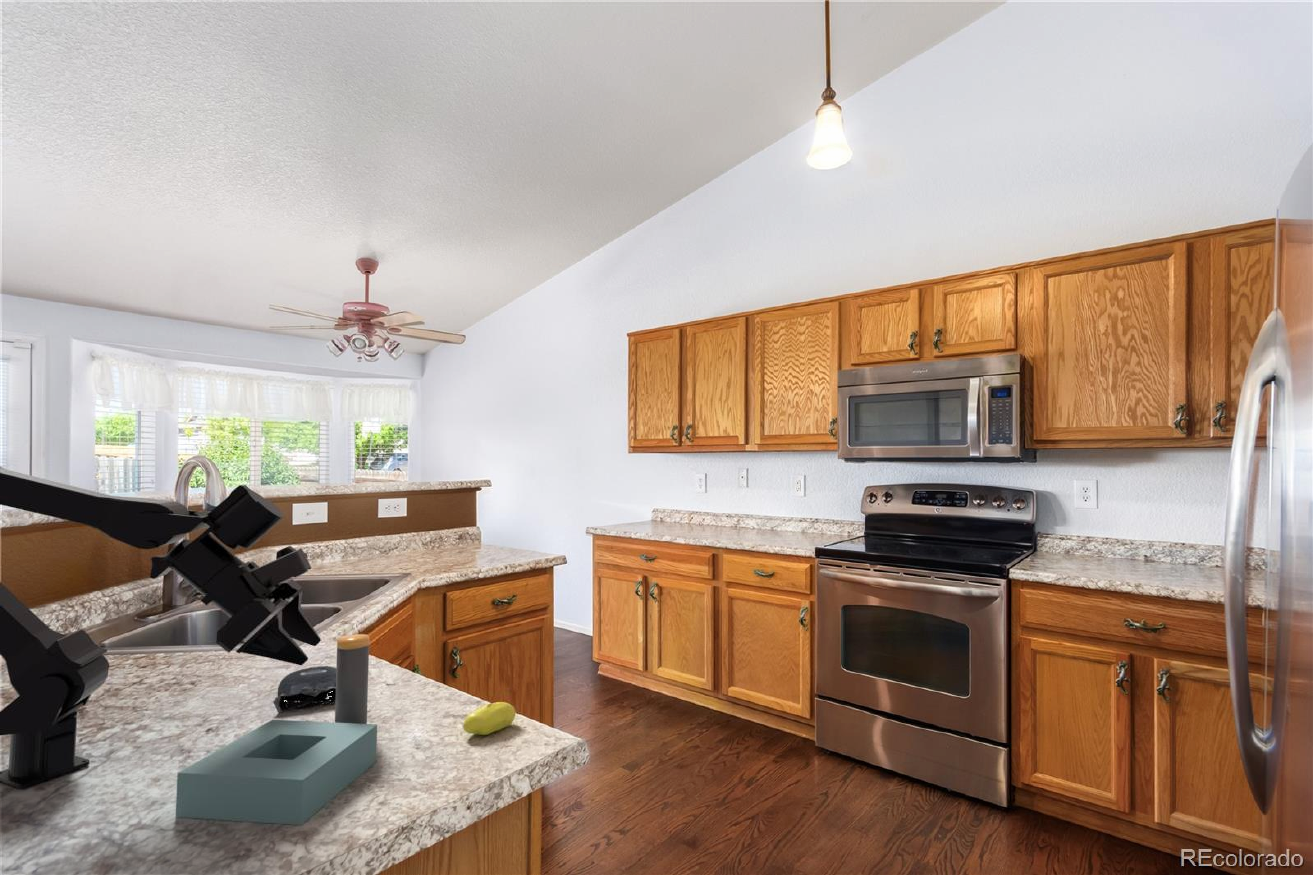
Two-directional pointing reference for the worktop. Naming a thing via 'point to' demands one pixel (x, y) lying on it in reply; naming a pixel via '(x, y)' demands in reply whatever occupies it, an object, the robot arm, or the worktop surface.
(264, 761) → the socket
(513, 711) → the lemon
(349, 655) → the plug
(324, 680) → the electronic device
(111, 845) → the worktop surface
